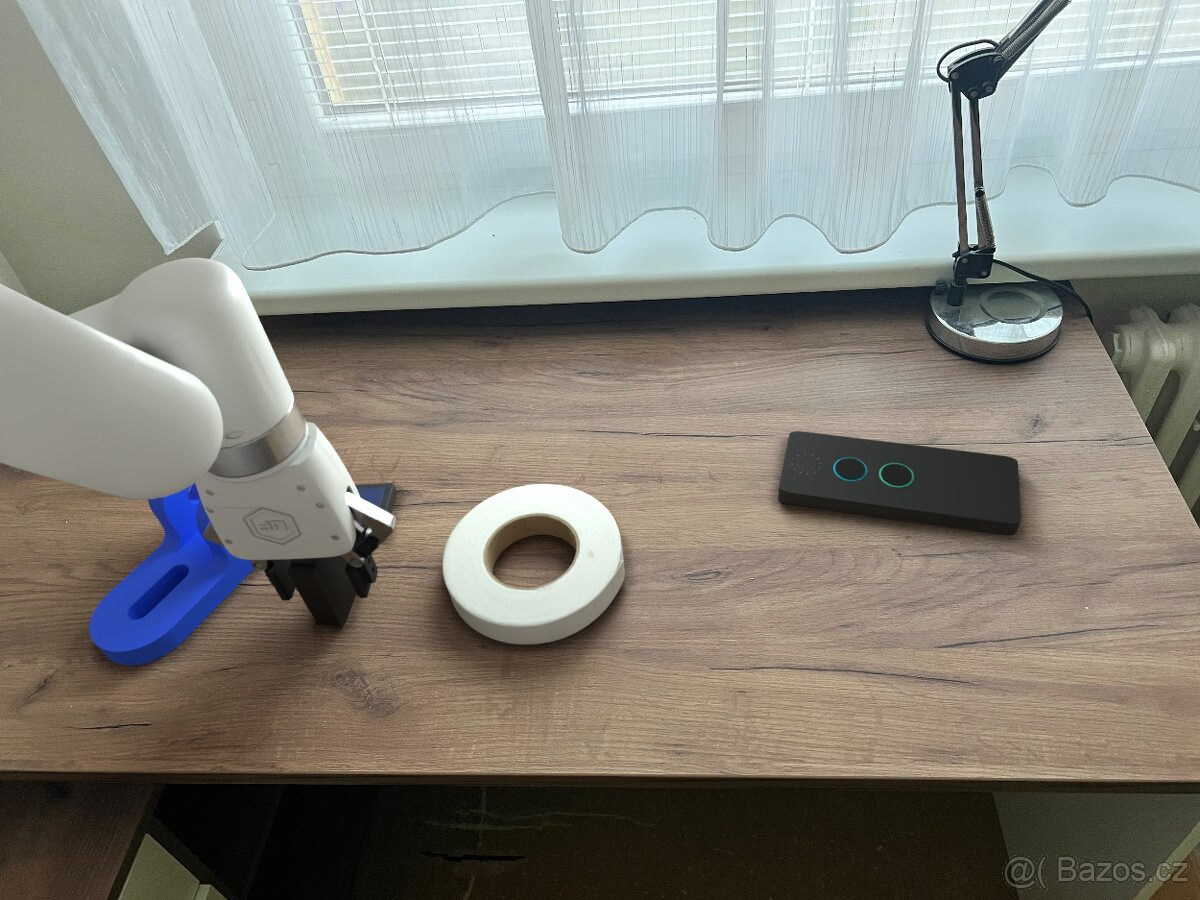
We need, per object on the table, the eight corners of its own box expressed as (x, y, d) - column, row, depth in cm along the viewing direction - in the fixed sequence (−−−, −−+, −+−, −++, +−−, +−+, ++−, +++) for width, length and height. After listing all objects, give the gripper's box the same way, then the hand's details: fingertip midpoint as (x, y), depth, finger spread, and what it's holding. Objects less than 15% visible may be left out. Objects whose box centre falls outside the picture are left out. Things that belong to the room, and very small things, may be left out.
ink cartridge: (336, 580, 77) (306, 522, 72) (361, 582, 77) (333, 523, 71) (317, 628, 74) (284, 570, 68) (343, 629, 74) (311, 571, 68)
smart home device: (790, 427, 83) (1018, 455, 78) (789, 440, 84) (1013, 468, 79) (777, 490, 77) (1021, 524, 72) (776, 503, 79) (1017, 538, 73)
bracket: (233, 500, 86) (194, 434, 80) (295, 526, 83) (259, 459, 76) (81, 643, 75) (23, 579, 69) (145, 679, 72) (89, 617, 66)
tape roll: (438, 650, 71) (429, 631, 69) (459, 509, 82) (453, 488, 80) (627, 640, 70) (624, 620, 68) (624, 498, 81) (621, 477, 79)
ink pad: (290, 544, 81) (284, 533, 80) (307, 496, 85) (302, 485, 84) (384, 540, 80) (380, 530, 79) (397, 492, 84) (393, 481, 83)
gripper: (108, 474, 59) (216, 626, 72) (355, 462, 57) (421, 619, 70) (152, 401, 64) (246, 554, 77) (379, 388, 63) (437, 546, 75)
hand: (329, 584), depth 73 cm, fingers open, 5 cm apart
